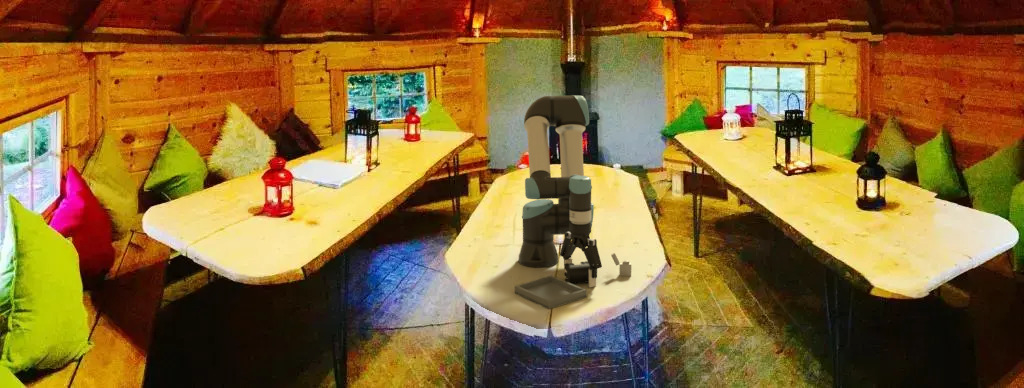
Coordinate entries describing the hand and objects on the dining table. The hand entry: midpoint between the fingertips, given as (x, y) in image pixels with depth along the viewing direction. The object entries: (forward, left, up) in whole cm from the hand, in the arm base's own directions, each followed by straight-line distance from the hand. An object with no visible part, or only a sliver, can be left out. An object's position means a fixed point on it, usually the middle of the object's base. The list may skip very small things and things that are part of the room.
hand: (580, 281), depth 247 cm
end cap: (0, 0, -1) cm, 1 cm away
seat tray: (+3, -16, 0) cm, 16 cm away
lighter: (+4, +16, 0) cm, 16 cm away
